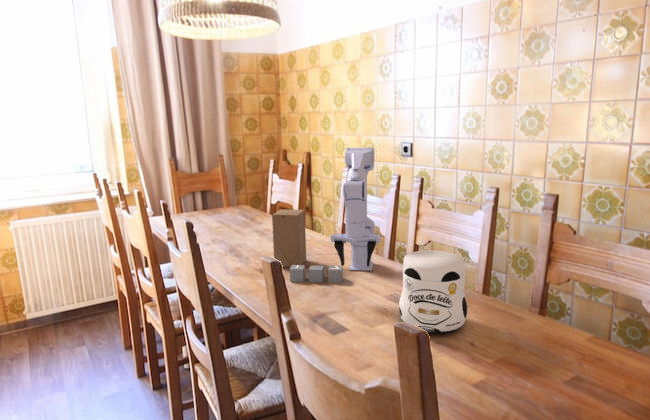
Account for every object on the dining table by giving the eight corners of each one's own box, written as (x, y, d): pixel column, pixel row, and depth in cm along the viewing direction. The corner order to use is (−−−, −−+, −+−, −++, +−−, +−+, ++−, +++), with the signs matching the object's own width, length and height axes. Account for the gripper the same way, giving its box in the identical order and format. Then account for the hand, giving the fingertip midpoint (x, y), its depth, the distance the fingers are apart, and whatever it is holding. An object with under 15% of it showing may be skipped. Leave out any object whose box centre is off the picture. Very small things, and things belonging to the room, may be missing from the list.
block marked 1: (292, 277, 159) (292, 264, 158) (305, 277, 158) (305, 264, 157) (290, 281, 154) (289, 268, 154) (303, 282, 154) (302, 268, 153)
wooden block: (300, 268, 168) (298, 215, 164) (274, 267, 170) (271, 214, 166) (306, 260, 177) (305, 209, 173) (281, 259, 179) (279, 209, 175)
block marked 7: (329, 278, 157) (329, 265, 156) (342, 278, 157) (342, 265, 156) (328, 282, 153) (327, 269, 152) (341, 283, 152) (341, 269, 151)
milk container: (418, 344, 110) (419, 272, 107) (388, 315, 126) (388, 252, 123) (480, 333, 115) (483, 264, 111) (444, 306, 131) (445, 246, 128)
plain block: (311, 277, 158) (310, 265, 157) (324, 278, 157) (323, 265, 156) (309, 282, 154) (308, 269, 153) (322, 282, 153) (321, 269, 152)
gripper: (328, 224, 133) (329, 268, 136) (379, 224, 131) (379, 270, 133) (332, 218, 140) (333, 261, 142) (380, 219, 137) (379, 262, 140)
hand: (355, 265), depth 138 cm, fingers open, 7 cm apart
